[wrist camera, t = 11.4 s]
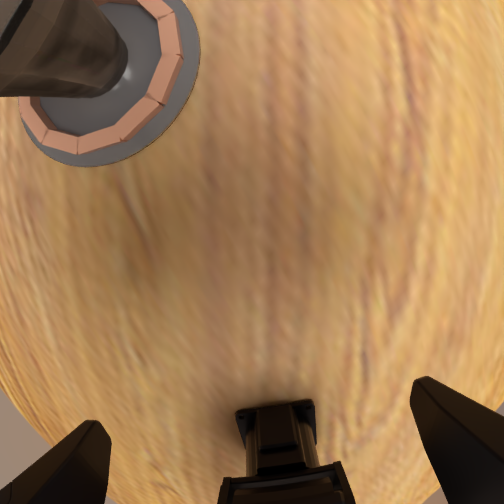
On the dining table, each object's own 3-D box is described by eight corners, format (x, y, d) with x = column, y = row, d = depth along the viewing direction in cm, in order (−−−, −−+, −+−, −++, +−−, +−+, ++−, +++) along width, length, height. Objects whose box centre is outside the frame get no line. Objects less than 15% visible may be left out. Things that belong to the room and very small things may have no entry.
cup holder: (216, 138, 18) (213, 137, 16) (35, 188, 18) (20, 192, 16) (187, -38, 13) (183, -52, 12) (21, 27, 14) (8, 22, 12)
